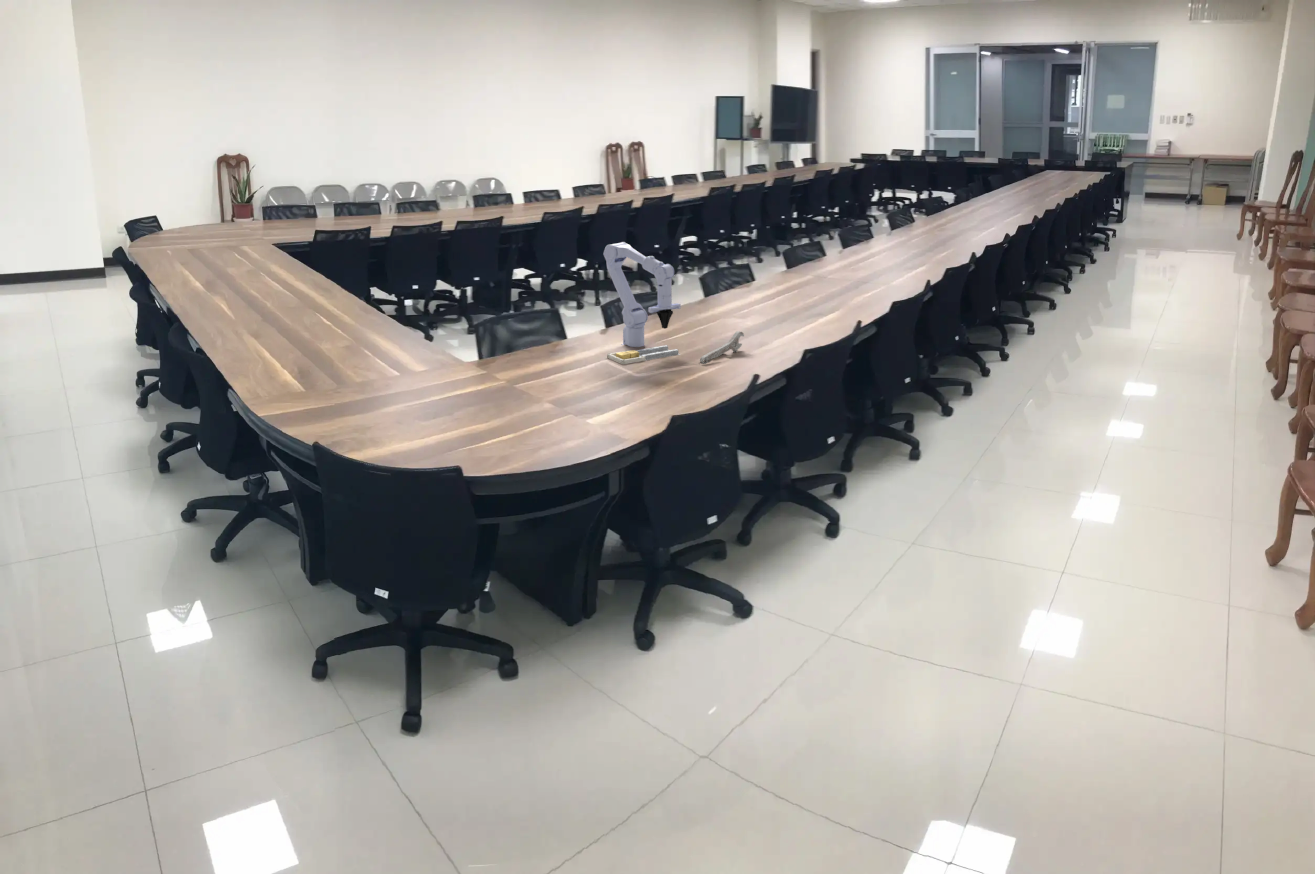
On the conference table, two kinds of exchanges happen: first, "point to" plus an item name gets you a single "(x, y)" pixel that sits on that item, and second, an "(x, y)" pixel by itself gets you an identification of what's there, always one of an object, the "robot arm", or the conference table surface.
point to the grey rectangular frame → (626, 361)
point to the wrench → (724, 348)
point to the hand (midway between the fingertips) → (664, 328)
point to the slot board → (657, 352)
